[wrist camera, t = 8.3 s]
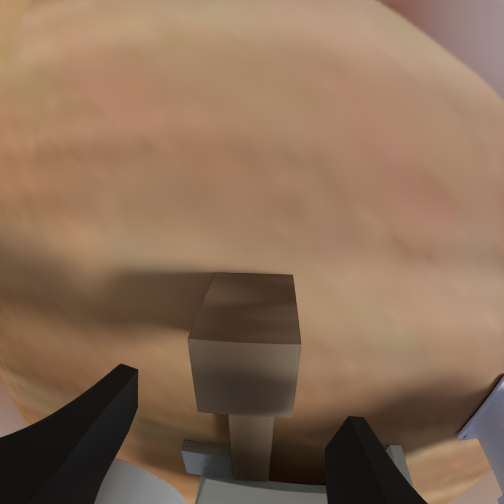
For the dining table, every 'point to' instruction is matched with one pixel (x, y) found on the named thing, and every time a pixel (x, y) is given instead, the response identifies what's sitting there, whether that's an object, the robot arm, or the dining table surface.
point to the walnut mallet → (247, 361)
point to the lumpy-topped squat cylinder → (135, 487)
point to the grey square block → (207, 459)
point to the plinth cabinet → (275, 488)
